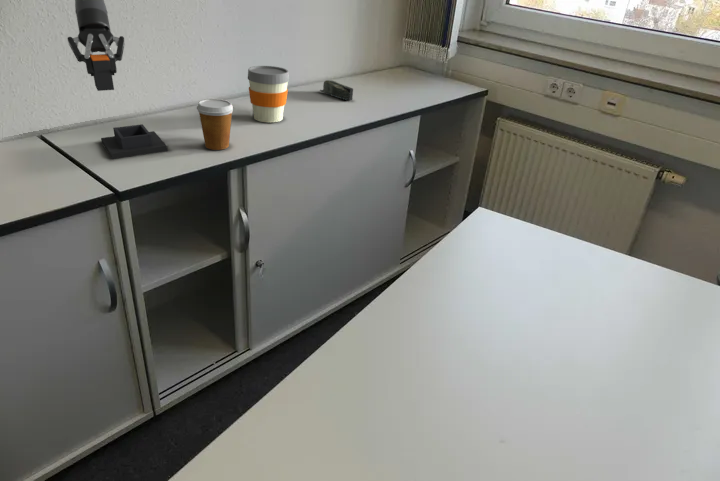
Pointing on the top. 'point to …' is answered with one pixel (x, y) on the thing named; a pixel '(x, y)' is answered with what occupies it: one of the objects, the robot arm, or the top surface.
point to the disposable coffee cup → (215, 122)
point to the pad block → (102, 72)
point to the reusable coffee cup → (268, 92)
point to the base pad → (132, 142)
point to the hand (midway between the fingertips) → (102, 73)
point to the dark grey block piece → (337, 90)
